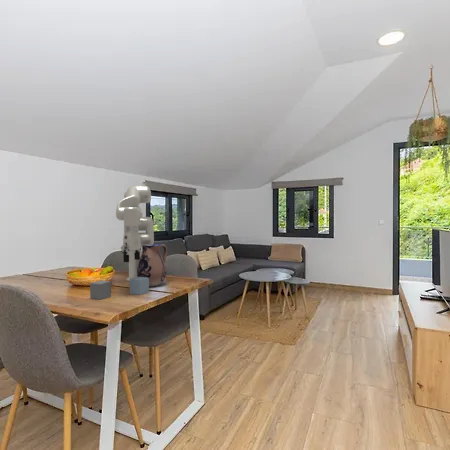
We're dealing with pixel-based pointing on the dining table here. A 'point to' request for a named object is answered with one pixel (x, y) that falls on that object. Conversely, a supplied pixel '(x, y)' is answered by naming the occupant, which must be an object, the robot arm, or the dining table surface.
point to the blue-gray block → (139, 285)
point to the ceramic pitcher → (152, 264)
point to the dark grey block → (100, 290)
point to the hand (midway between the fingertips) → (131, 260)
